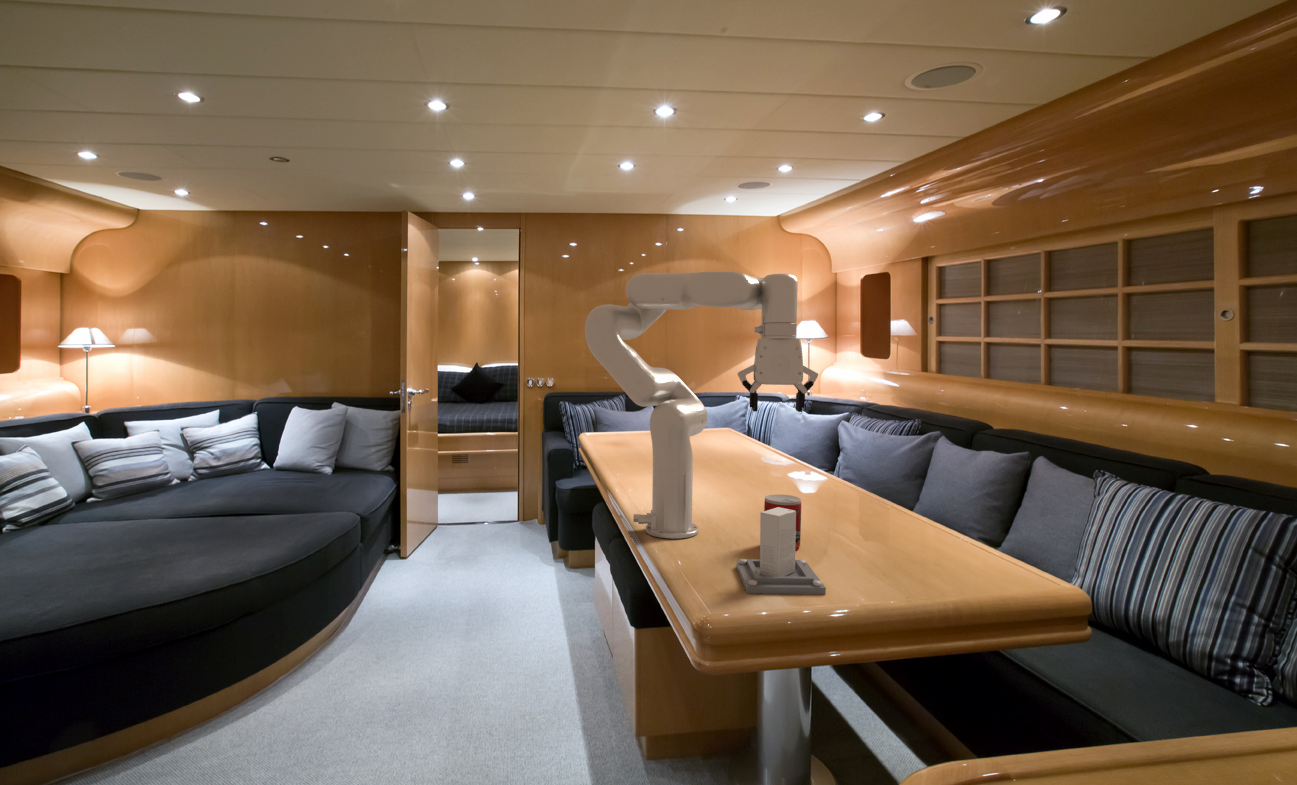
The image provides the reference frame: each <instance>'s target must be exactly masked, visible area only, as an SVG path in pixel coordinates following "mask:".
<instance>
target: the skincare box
mask: <svg viewBox="0 0 1297 785" xmlns="http://www.w3.org/2000/svg"><path fill="white" fill-rule="evenodd" d="M759 518H760V520H759V522H760V523H759V524H760V528H759V529H760V531H759V532H760V534H759V540H760V542H759V560H760V574H761V575H764V576H787V575H789V574H791V573H793V572H795V560H796V551H795V542H796V511H794V510H790V509H785V508H780V507H777V508H774V509H770V510H767V511H761V512H760V517H759Z"/></svg>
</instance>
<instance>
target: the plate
mask: <svg viewBox="0 0 1297 785" xmlns="http://www.w3.org/2000/svg"><path fill="white" fill-rule="evenodd" d="M807 562H808V561H806V560H804V559H795V572H793V573H791V574H789V575H787V576H764V575H761V574H760V559H746V558H745V559H744V558H740V559H738V561H736V563H735V564H736V565H735V566H736V570H737V573H738V574H739V578H740V580H741V582H742V585H743V587H744V589H746V590H745V592H746V594H756V593H762V594H763V595H764V594H767V595H768V594H770V595H771V594H775V595H776V594H777V595H778V594H780V595H826V593H827V591H826V590H827V589H826V586H825V585H824V583H823V582H822V581H821V580H820V578H819V577H818V575H817V574H816V573H815V571H814V570H813V569H812V568H811V566H810V564H808V563H807Z"/></svg>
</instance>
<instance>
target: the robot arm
mask: <svg viewBox="0 0 1297 785" xmlns="http://www.w3.org/2000/svg"><path fill="white" fill-rule="evenodd" d="M798 286H799V283H798V278H797V277H796V276H795V275H794V274H791V273H790V274H789V273H772V274H767V275H765V276H764V277H757V276H753V275H750V274H748V273H743V272H738V271H699V272H642V273H638V274H637V273H636V274H635V275H633V276H631V277H630V279H629V280H628V281H627V283H626V285H625V295H626V299H628V301H629V303H628V304H627V305H626V306H625V305H617V304H610V303H609V304H600V305H599V306H595V307H594V308H593V309H592V310H590V312H589V313H588V315H587V317H586V320H585V324H584V336H585V341H586V344H587V347H588V349H589V351H590V353H591V354H592V355H593V357H594V359H596V361H597V362H598V363H599V364H600V365H601V366H602V367H603V368H604V369H605V371H607V373H608V374H609V375H610V377H612V379H613V380H614V381H615V382H616V383H617V385H618V386H619V387H620V388H621V389H622V391H624V392H625V394H626V395H627V396H628V398H629V399H630V400H631V401H632V402H633V403H634V404H635V405H637V406H640V407H643V408H644V407H654V406H655V408H654V409H653V410H652V412H651V414H650V416H649V431H650V432H649V433H650V438H651V447H652V448H651V449H652V499H651V500H652V505H651V506H652V508H651V510H650V512H646V514H640V513H634V514H633V515H632V516H633V521H632V522H633V523H638V524H639V525H643V524H646V525H645V532H646V534H648V535H649V536H653V537H656V538H662V539H686V538H691V537H694V536H696V535H698V534H699V526H697V525H696V524H694V523H693V481H694V480H693V475H694V474H693V471H694V469H693V468H694V467H693V466H694V465H693V463H694V461H693V460H694V459H693V455H694V454H693V449H692V448H693V447H692V445H691V439H690V437H694V436H696V435H698V434H700V433H701V432H703V430H705V429H706V427H707V424H708V420H709V419H708V417H709V416H708V412H707V409H706V407H705V405H704V404H703V402H702V401H701V399H699V398H698V396H697V395H696V394H695V393H694V392H693V391H692V390H691V389H690V387H689V386H687V385H686V384H685V382H684V381H683V380H682V379H681V378H680V377H679V376H678V375H677V374H676V373H674V372H673V371H672V370H670V369H667V368H665V367H658V366H657V367H656V366H655V367H653V366H651V365H649V364H648V363H647V362H646V361H645V360H644V359H643V358H642V357H641V356H640V355H639V353H638V351H636V350H635V349H634V348H632V347H631V346H630V345H628V343H626V342H625V341H627V340H628V341H631V340H634V339H636V338H638V337H640V336H641V335H642V334H644V333H645V332H646V331H647V330H648V329H649V328H650V327H651V326H652V325H653V324H654V323H656V321H658V319H660V317H661V316H662V315H664V313H666V312H667V311H668V310H677V311H678V310H679V311H689V310H692V309H693V308H696V307H713V308H714V307H715V308H717V307H718V308H735V309H740V310H745V311H756V310H761V314H760V315H761V317H760V318H761V322H760V325H758V326H754V328H753V329H754V331H753V332H754V334H759V336H760V338H757V343H756V345H755V346H756V347H755V353H754V354H755V355H754V363H753V364H752V365H750V366H747V367H745V368H744V369H742V370H740V371H738V372H737V377H738V378H739V380H740V382H741V385H742V386H743V387H744V388H745V389H746V390H747V391H748V392H749V408H751V410H752V412H758V410H759V409H758V408H759V406H758V405H759V393H758V392H757V390H758V389H759V388H760V387H761V386H762V385H764V386H765V385H767V386H768V385H771V386H772V385H773V386H774V385H775V386H776V385H777V386H794V388H795V389H796V390H797V392H796V393H795V411H796V412H798V413H803V409H805V407H806V406H805V405H806V394H807V392H808V391H809V390H811V389H812V387H813V386H814V384H815V382H816V381H817V380H818V377H819V373H818V372H816V371H814V370H812V369H810V368H808V367H806V366H805V365H804V360H803V358H804V357H803V348H802V341H801V338H797V328H798V327H797V321H798V320H797V319H798V318H797V317H798V291H799V290H798ZM751 373H753V382H752V383H750V382H749V381H748V379H747V375H749V374H751ZM804 374H805V375H808V380H807V381H806V382H805V383H804V384H803V381H804Z"/></svg>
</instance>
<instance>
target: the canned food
mask: <svg viewBox="0 0 1297 785" xmlns="http://www.w3.org/2000/svg"><path fill="white" fill-rule="evenodd" d="M777 507H780V508H785V509H790V510H794V511H796V542H795V552H796V551H798V550H799V549H800V547H801V531H802V530H801V529H802V527H801V526H802V498H800V497H799V496H794V495H788V494H768V495H766V496H765V497H764V506H763V508H764V509H763V510H764V511H767V510H770V509H774V508H777ZM764 511H763V512H764Z"/></svg>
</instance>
